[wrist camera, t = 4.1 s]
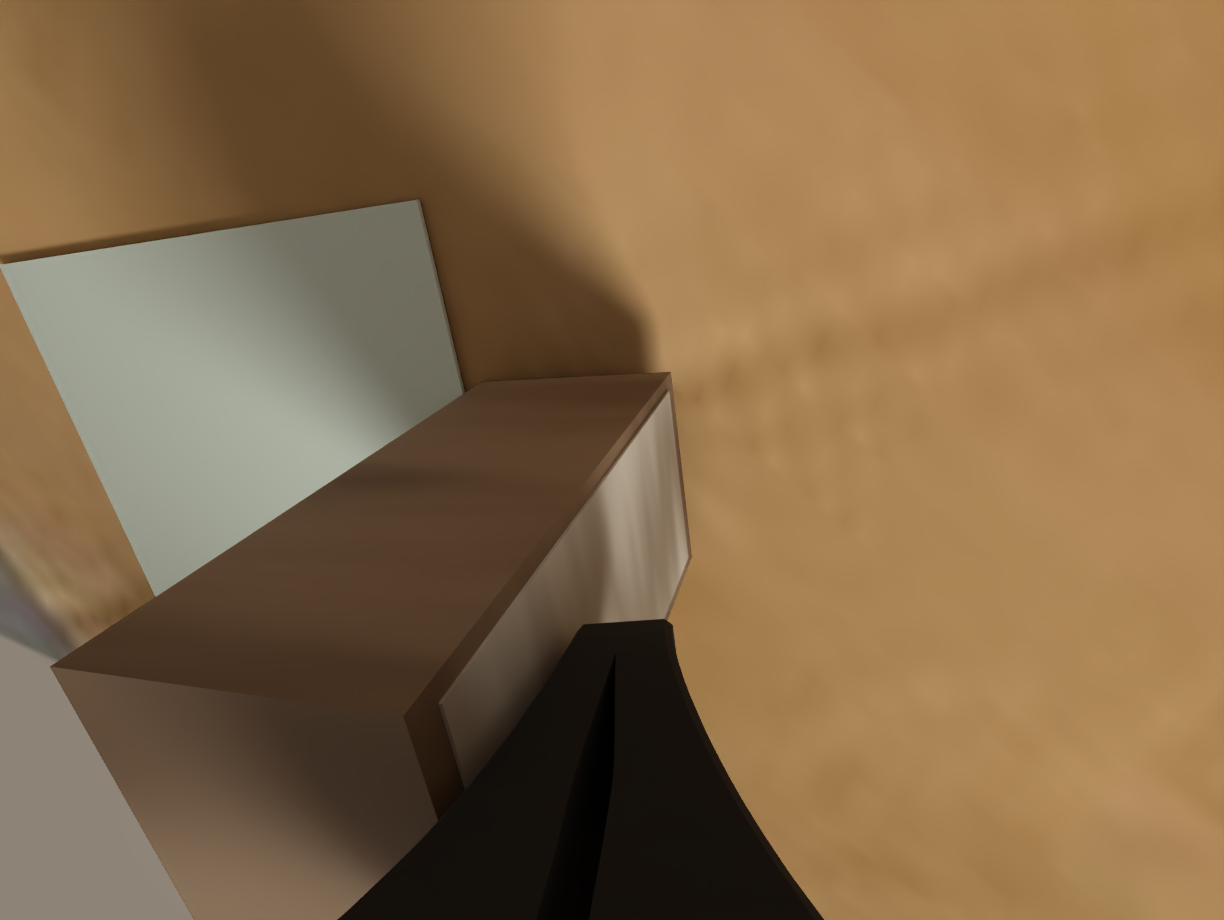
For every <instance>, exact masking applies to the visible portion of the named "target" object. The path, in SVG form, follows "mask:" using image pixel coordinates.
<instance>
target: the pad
mask: <svg viewBox="0 0 1224 920" xmlns="http://www.w3.org/2000/svg"><path fill="white" fill-rule="evenodd" d="M0 268H1V270H2V272H3V275H4V277H5V279H6V281H7V283H8V285H9V287H10V289H11V292H12V294H13V296H14V298H15V300H16V302H17V304H18V306H19V309H20V311H21V313H22V315H23V317H24V319H25V321H26V323H27V326H28V328H29V330H30V332H31V334H32V336H33V338H34V340H35V342H36V345H37V347H38V349H39V351H40V353H41V355H42V357H43V359H44V362H45V364H46V366H47V368H48V370H49V372H50V374H51V376H52V379H53V381H54V383H55V385H56V387H57V389H58V391H59V393H60V396H61V398H62V400H63V402H64V404H65V406H66V408H67V410H68V413H69V415H70V417H71V419H72V421H73V423H74V425H75V427H76V430H77V432H78V434H79V436H80V438H81V440H82V442H83V444H84V446H85V449H86V451H87V453H88V455H89V457H90V459H91V461H92V463H93V466H94V468H95V470H96V472H97V474H98V476H99V478H100V480H101V483H102V485H103V487H104V489H105V491H106V493H107V495H108V497H109V500H110V502H111V504H112V506H113V508H114V510H115V512H116V514H117V517H118V519H119V521H120V523H121V525H122V527H123V529H124V531H125V533H126V536H127V538H128V540H129V542H130V544H131V546H132V548H133V550H134V553H135V555H136V557H137V559H138V561H139V563H140V565H141V567H142V570H143V572H144V574H145V576H146V578H147V580H148V582H149V584H150V587H151V589H152V591H153V593H154V595H155V597H156V596H158V595H159V594H161V593H162V592H164V591H165V590H167V589H168V588H170V587H172V586H173V585H175V584H176V583H178V582H179V581H181V580H182V579H184V578H185V577H187V576H188V575H190V574H191V573H193V572H194V571H196V570H197V569H199V568H200V567H202V566H203V565H205V564H206V563H208V562H209V561H211V560H212V559H214V558H215V557H217V556H218V555H220V554H222V553H223V552H225V551H226V550H228V549H229V548H231V547H232V546H234V545H235V544H237V543H238V542H240V541H241V540H243V539H244V538H246V537H247V536H249V535H250V534H252V533H253V532H255V531H256V530H258V529H259V528H261V527H262V526H264V525H265V524H267V523H268V522H270V521H272V520H273V519H275V518H276V517H278V516H279V515H281V514H282V513H284V512H285V511H287V510H288V509H290V508H291V507H293V506H294V505H296V504H297V503H299V502H300V501H302V500H303V499H305V498H306V497H308V496H309V495H311V494H312V493H314V492H315V491H317V490H318V489H320V488H322V487H323V486H325V485H326V484H328V483H329V482H331V481H332V480H334V479H335V478H337V477H338V476H340V475H341V474H343V473H344V472H346V471H347V470H349V469H350V468H352V467H353V466H355V465H356V464H358V463H359V462H361V461H362V460H364V459H365V458H367V457H368V456H370V455H372V454H373V453H375V452H376V451H378V450H379V449H381V448H382V447H384V446H385V445H387V444H388V443H390V442H391V441H393V440H394V439H396V438H397V437H399V436H400V435H402V434H403V433H405V432H406V431H408V430H409V429H411V428H412V427H414V426H415V425H417V424H418V423H420V422H422V421H423V420H425V419H426V418H428V417H429V416H431V415H432V414H434V413H435V412H437V411H438V410H440V409H441V408H443V407H444V406H446V405H447V404H449V403H450V402H452V401H453V400H455V399H456V398H458V397H459V396H461V395H462V394H464V393H465V391H464V386H463V382H462V378H461V374H460V369H459V365H458V361H457V357H456V352H455V348H454V344H453V340H452V335H451V331H450V327H449V322H448V318H447V314H446V310H445V305H444V301H443V297H442V293H441V288H440V284H439V280H438V276H437V271H436V267H435V263H434V259H433V254H432V250H431V246H430V242H429V237H428V233H427V229H426V225H425V220H424V216H423V212H422V208H421V203H420V199H418V200H412V201H405V202H399V203H392V204H386V205H380V206H373V207H367V208H360V209H354V210H348V211H341V212H335V213H328V214H322V215H316V216H309V217H303V218H296V219H290V220H284V221H277V222H271V223H264V224H258V225H252V226H245V227H239V228H232V229H226V230H220V231H213V232H207V233H200V234H194V235H188V236H181V237H175V238H168V239H162V240H156V241H149V242H143V243H136V244H130V245H124V246H117V247H111V248H104V249H98V250H92V251H85V252H79V253H72V254H66V255H60V256H53V257H47V258H40V259H34V260H28V261H21V262H15V263H8V264H2V265H0Z"/></svg>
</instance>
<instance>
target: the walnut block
mask: <svg viewBox="0 0 1224 920" xmlns="http://www.w3.org/2000/svg"><path fill="white" fill-rule="evenodd" d="M691 558H692V554H691V546H690V537H689V528H688V519H687V511H686V502H685V493H684V484H683V475H682V467H681V458H680V449H679V440H678V432H677V423H676V414H675V405H674V397H673V388H672V379H671V372H661V373H641V374H622V375H602V376H583V377H564V378H544V379H525V380H505V381H486V382H481V383H479V384H478V385H476V386H475V387H473V388H472V389H470V390H468V391H467V392H465V393H464V394H462V395H461V396H459V397H458V398H456V399H455V400H453V401H452V402H450V403H449V404H447V405H446V406H444V407H443V408H441V409H440V410H438V411H437V412H435V413H434V414H432V415H431V416H429V417H428V418H426V419H425V420H423V421H422V422H420V423H418V424H417V425H415V426H414V427H412V428H411V429H409V430H408V431H406V432H405V433H403V434H402V435H400V436H399V437H397V438H396V439H394V440H393V441H391V442H390V443H388V444H387V445H385V446H384V447H382V448H381V449H379V450H378V451H376V452H375V453H373V454H372V455H370V456H368V457H367V458H365V459H364V460H362V461H361V462H359V463H358V464H356V465H355V466H353V467H352V468H350V469H349V470H347V471H346V472H344V473H343V474H341V475H340V476H338V477H337V478H335V479H334V480H332V481H331V482H329V483H328V484H326V485H325V486H323V487H322V488H320V489H318V490H317V491H315V492H314V493H312V494H311V495H309V496H308V497H306V498H305V499H303V500H302V501H300V502H299V503H297V504H296V505H294V506H293V507H291V508H290V509H288V510H287V511H285V512H284V513H282V514H281V515H279V516H278V517H276V518H275V519H273V520H272V521H270V522H268V523H267V524H265V525H264V526H262V527H261V528H259V529H258V530H256V531H255V532H253V533H252V534H250V535H249V536H247V537H246V538H244V539H243V540H241V541H240V542H238V543H237V544H235V545H234V546H232V547H231V548H229V549H228V550H226V551H225V552H223V553H222V554H220V555H218V556H217V557H215V558H214V559H212V560H211V561H209V562H208V563H206V564H205V565H203V566H202V567H200V568H199V569H197V570H196V571H194V572H193V573H191V574H190V575H188V576H187V577H185V578H184V579H182V580H181V581H179V582H178V583H176V584H175V585H173V586H172V587H170V588H168V589H167V590H165V591H164V592H162V593H161V594H159V595H158V596H156V597H155V598H153V599H152V600H150V601H149V602H147V603H146V604H144V605H143V606H141V607H140V608H138V609H137V610H135V611H134V612H132V613H131V614H129V615H128V616H126V617H125V618H123V619H122V620H120V621H118V622H117V623H115V624H114V625H112V626H111V627H109V628H108V629H106V630H105V631H103V632H102V633H100V634H99V635H97V636H96V637H94V638H93V639H91V640H90V641H88V642H87V643H85V644H84V645H82V646H81V647H79V648H78V649H76V650H75V651H73V652H72V653H70V654H68V655H67V656H65V657H64V658H62V659H61V660H59V661H58V662H56V663H55V664H53V665H52V666H50V667H51V669H52V671H53V673H54V674H55V676H56V678H57V680H58V682H59V683H60V685H61V687H62V689H63V690H64V692H65V694H66V696H67V697H68V699H69V701H70V703H71V704H72V706H73V708H74V710H75V711H76V713H77V715H78V717H79V719H80V720H81V722H82V724H83V726H84V727H85V729H86V731H87V733H88V734H89V736H90V738H91V740H92V741H93V743H94V745H95V746H96V748H97V750H98V752H99V754H100V756H101V757H102V759H103V760H104V763H105V764H106V766H107V768H108V770H109V771H110V773H111V775H112V777H113V778H114V780H115V782H116V783H117V785H118V787H119V789H120V791H121V792H122V794H123V796H124V798H125V800H126V801H127V803H128V805H129V807H130V808H131V810H132V812H133V814H134V815H135V817H136V819H137V821H138V822H139V824H140V826H141V828H142V829H143V831H144V833H145V834H146V837H147V838H148V840H149V842H150V844H151V845H152V847H153V848H154V851H155V852H156V854H157V856H158V858H159V859H160V861H161V863H162V865H163V866H164V868H165V870H166V872H167V874H168V875H169V877H170V879H171V880H172V882H173V884H174V886H175V888H176V889H177V891H178V893H179V895H180V896H181V898H182V900H183V902H184V903H185V905H186V907H187V909H188V911H189V912H190V914H191V916H192V918H193V919H194V920H337V919H339V918H340V917H341V916H342V915H343V914H344V913H345V912H346V911H348V910H349V909H350V908H351V907H352V906H353V905H354V904H355V903H356V902H357V901H358V900H359V899H360V898H362V897H363V896H364V895H365V894H366V893H367V892H368V891H369V890H370V889H371V888H372V887H373V886H374V885H375V884H376V883H377V882H378V881H379V880H380V879H381V878H383V877H384V876H385V875H386V874H387V873H388V872H389V871H390V870H391V869H392V868H393V867H394V866H395V865H396V864H397V863H398V862H399V861H400V860H401V859H402V858H403V857H404V856H405V855H406V854H407V853H408V852H409V851H410V850H411V849H412V848H413V847H414V846H415V845H416V844H417V843H418V842H419V841H420V840H421V839H422V838H423V837H424V836H425V834H426V833H427V832H428V831H429V830H430V829H431V828H432V827H433V826H434V825H435V824H436V822H437V821H438V820H439V819H440V818H441V817H442V816H443V815H444V814H445V813H446V812H447V810H448V809H449V808H450V807H451V806H452V805H453V804H454V802H455V801H456V800H457V799H458V798H459V797H460V796H461V794H462V793H463V792H464V791H465V790H466V788H467V787H468V786H469V785H470V784H471V783H472V781H473V780H474V779H475V778H476V777H477V775H478V774H479V773H480V771H481V770H482V769H483V768H484V766H485V765H486V764H487V762H488V761H489V760H490V759H491V757H492V756H493V755H494V753H495V752H496V751H497V750H498V748H499V747H500V746H501V745H502V743H503V742H504V741H505V739H506V738H507V737H508V736H509V734H510V733H511V731H512V730H513V729H514V727H515V726H516V725H517V723H518V722H519V720H520V719H521V717H522V716H523V715H524V713H525V712H526V710H527V709H528V707H529V706H530V705H531V703H532V702H533V700H534V699H535V697H536V696H537V694H538V693H539V692H540V690H541V689H542V687H543V686H544V684H545V683H546V681H547V679H548V678H549V676H550V675H551V673H552V672H553V670H554V669H555V667H556V665H557V664H558V662H559V661H560V659H561V657H562V656H563V654H564V653H565V651H566V649H567V648H568V646H569V644H570V643H571V641H572V639H573V638H574V636H575V634H576V633H577V631H578V630H579V629H580V628H581V627H582V626H583V624H595V623H610V622H624V621H639V620H653V619H665V620H668V617H669V615H670V612H671V610H672V607H673V604H674V602H675V599H676V597H677V594H678V591H679V589H680V586H681V584H682V581H683V578H684V576H685V573H686V571H687V568H688V565H689V563H690V560H691Z"/></svg>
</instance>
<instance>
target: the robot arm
mask: <svg viewBox="0 0 1224 920" xmlns="http://www.w3.org/2000/svg"><path fill="white" fill-rule="evenodd" d="M337 920H824V919H823V918H822V916H821V915H820V914H819V912H818V911H817V910H816V908H815V907H814V906H813V904H812V903H811V902H810V900H809V899H808V897H807V896H806V895H805V893H804V892H803V891H802V889H801V888H800V887H799V885H798V884H797V883H796V881H795V880H794V879H793V877H792V876H791V875H790V873H789V872H788V870H787V869H786V867H785V866H784V864H783V863H782V861H781V860H780V858H779V857H778V855H777V854H776V852H775V851H774V849H773V848H772V846H771V845H770V843H769V842H768V840H767V839H766V837H765V836H764V834H763V833H762V831H761V830H760V828H759V826H758V825H757V823H756V821H755V820H754V818H753V817H752V815H751V813H750V812H749V810H748V809H747V807H746V805H745V804H744V802H743V800H742V799H741V797H740V795H739V793H738V792H737V790H736V788H735V786H734V785H733V783H732V781H731V779H730V777H729V776H728V774H727V772H726V770H725V768H724V766H723V764H722V763H721V761H720V759H719V757H718V755H717V753H716V751H715V749H714V747H713V745H712V743H711V741H710V739H709V737H708V735H707V733H706V731H705V729H704V727H703V724H702V722H701V720H700V717H699V715H698V713H697V710H696V708H695V706H694V703H693V701H692V699H691V696H690V694H689V692H688V689H687V686H686V684H685V681H684V678H683V675H682V672H681V669H680V666H679V663H678V659H677V655H676V648H675V640H674V632H673V625H672V624H671V623H669V622H668V621H667V620H665V619H653V620H639V621H624V622H610V623H595V624H583V626H582V627H581V628H580V629H579V630H578V631H577V633H576V634H575V636H574V638H573V639H572V641H571V643H570V644H569V646H568V648H567V649H566V651H565V653H564V654H563V656H562V657H561V659H560V661H559V662H558V664H557V665H556V667H555V669H554V670H553V672H552V673H551V675H550V676H549V678H548V679H547V681H546V683H545V684H544V686H543V687H542V689H541V690H540V692H539V693H538V694H537V696H536V697H535V699H534V700H533V702H532V703H531V705H530V706H529V707H528V709H527V710H526V712H525V713H524V715H523V716H522V717H521V719H520V720H519V722H518V723H517V725H516V726H515V727H514V729H513V730H512V731H511V733H510V734H509V736H508V737H507V738H506V739H505V741H504V742H503V743H502V745H501V746H500V747H499V748H498V750H497V751H496V752H495V753H494V755H493V756H492V757H491V759H490V760H489V761H488V762H487V764H486V765H485V766H484V768H483V769H482V770H481V771H480V773H479V774H478V775H477V777H476V778H475V779H474V780H473V781H472V783H471V784H470V785H469V786H468V787H467V788H466V790H465V791H464V792H463V793H462V794H461V796H460V797H459V798H458V799H457V800H456V801H455V802H454V804H453V805H452V806H451V807H450V808H449V809H448V810H447V812H446V813H445V814H444V815H443V816H442V817H441V818H440V819H439V820H438V821H437V822H436V824H435V825H434V826H433V827H432V828H431V829H430V830H429V831H428V832H427V833H426V834H425V836H424V837H423V838H422V839H421V840H420V841H419V842H418V843H417V844H416V845H415V846H414V847H413V848H412V849H411V850H410V851H409V852H408V853H407V854H406V855H405V856H404V857H403V858H402V859H401V860H400V861H399V862H398V863H397V864H396V865H395V866H394V867H393V868H392V869H391V870H390V871H389V872H388V873H387V874H386V875H385V876H384V877H383V878H381V879H380V880H379V881H378V882H377V883H376V884H375V885H374V886H373V887H372V888H371V889H370V890H369V891H368V892H367V893H366V894H365V895H364V896H363V897H362V898H360V899H359V900H358V901H357V902H356V903H355V904H354V905H353V906H352V907H351V908H350V909H349V910H348V911H346V912H345V913H344V914H343V915H342V916H341V917H340V918H339V919H337Z"/></svg>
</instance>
